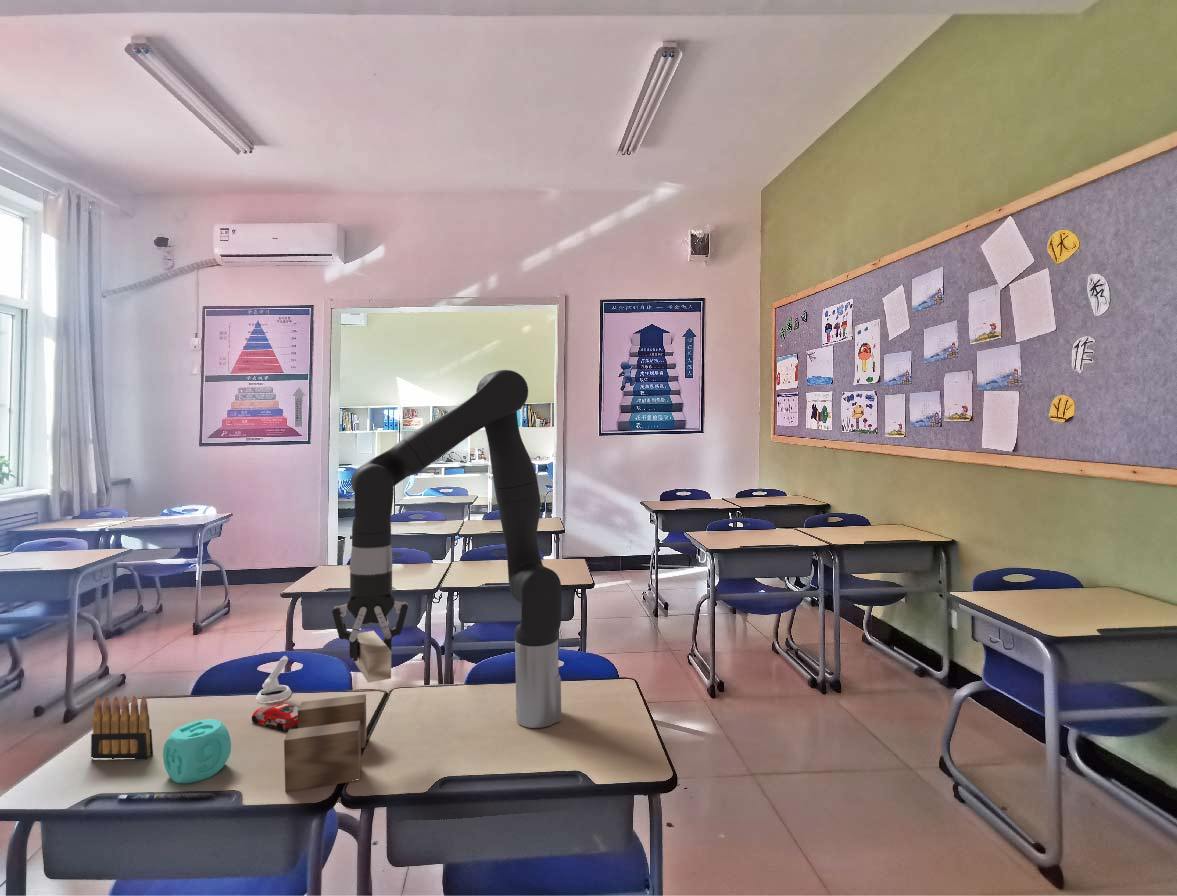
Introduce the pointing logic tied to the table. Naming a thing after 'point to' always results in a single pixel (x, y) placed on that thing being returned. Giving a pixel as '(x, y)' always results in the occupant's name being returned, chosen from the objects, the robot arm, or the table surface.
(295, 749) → the slotted shelf
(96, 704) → the ammunition clip
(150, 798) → the table surface
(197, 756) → the decorative dice
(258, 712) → the race car
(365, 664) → the maple beam
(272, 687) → the hook
